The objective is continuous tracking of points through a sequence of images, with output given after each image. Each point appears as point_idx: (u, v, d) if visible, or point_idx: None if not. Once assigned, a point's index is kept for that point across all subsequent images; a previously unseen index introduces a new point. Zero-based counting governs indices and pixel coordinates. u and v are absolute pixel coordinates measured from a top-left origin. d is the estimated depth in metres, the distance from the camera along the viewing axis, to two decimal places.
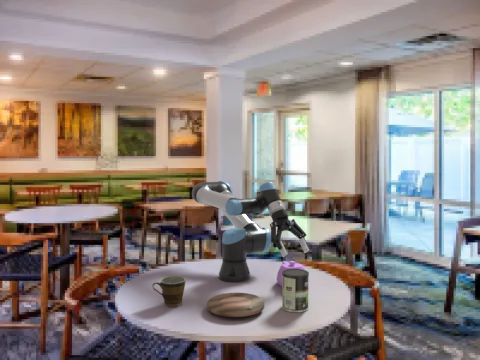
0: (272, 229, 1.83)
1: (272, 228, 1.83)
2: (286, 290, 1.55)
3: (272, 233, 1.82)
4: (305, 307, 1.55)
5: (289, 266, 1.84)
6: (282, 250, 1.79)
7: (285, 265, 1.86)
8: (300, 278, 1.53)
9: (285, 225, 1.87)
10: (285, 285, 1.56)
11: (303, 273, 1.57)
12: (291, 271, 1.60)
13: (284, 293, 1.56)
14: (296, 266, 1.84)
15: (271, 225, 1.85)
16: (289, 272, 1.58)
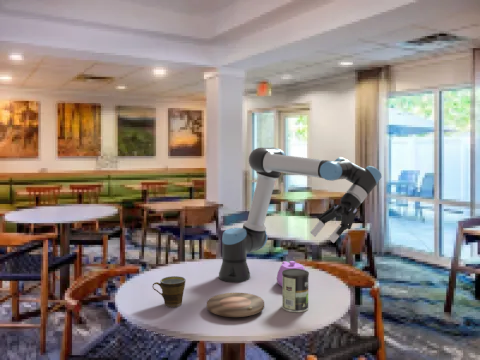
0: (352, 215, 1.58)
1: (353, 214, 1.58)
2: (286, 290, 1.55)
3: (351, 219, 1.57)
4: (305, 307, 1.55)
5: (289, 266, 1.84)
6: (336, 236, 1.56)
7: (285, 265, 1.86)
8: (300, 278, 1.53)
9: None
10: (285, 285, 1.56)
11: (303, 273, 1.57)
12: (291, 271, 1.60)
13: (284, 293, 1.56)
14: (296, 266, 1.84)
15: (354, 210, 1.59)
16: (289, 272, 1.58)
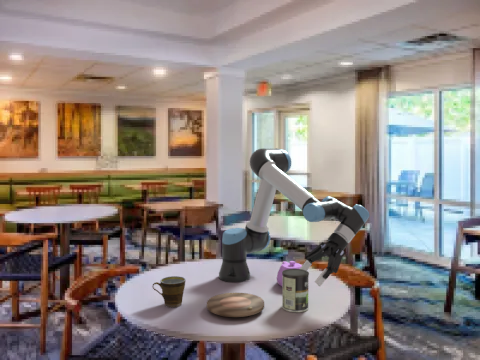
0: (339, 258, 1.55)
1: (340, 257, 1.55)
2: (286, 290, 1.55)
3: (338, 262, 1.53)
4: (305, 307, 1.55)
5: (289, 266, 1.84)
6: (322, 279, 1.53)
7: (285, 265, 1.86)
8: (300, 278, 1.53)
9: None
10: (285, 285, 1.56)
11: (303, 273, 1.57)
12: (291, 271, 1.60)
13: (284, 293, 1.56)
14: (296, 266, 1.84)
15: (341, 252, 1.56)
16: (289, 272, 1.58)
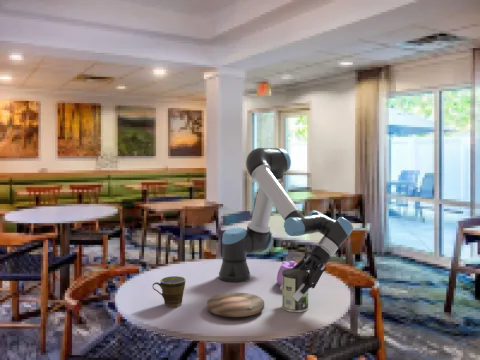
0: (319, 273, 1.54)
1: (320, 272, 1.54)
2: (286, 290, 1.55)
3: (317, 278, 1.53)
4: (305, 307, 1.55)
5: (289, 266, 1.84)
6: (300, 294, 1.53)
7: (285, 265, 1.86)
8: (300, 278, 1.53)
9: None
10: (285, 285, 1.56)
11: (303, 273, 1.57)
12: (291, 271, 1.60)
13: (284, 293, 1.56)
14: None
15: (322, 268, 1.54)
16: (289, 272, 1.58)
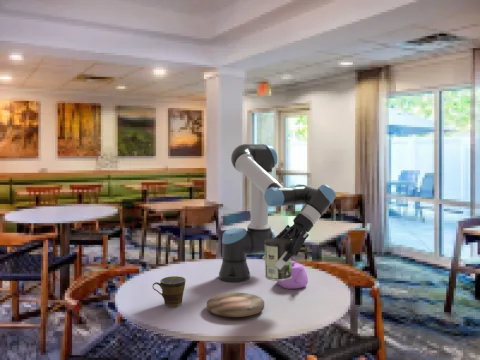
0: (302, 240, 1.51)
1: (302, 239, 1.51)
2: (268, 259, 1.52)
3: (299, 245, 1.50)
4: (288, 275, 1.52)
5: None
6: (282, 262, 1.50)
7: None
8: (282, 246, 1.50)
9: None
10: (267, 254, 1.52)
11: (285, 241, 1.54)
12: (273, 240, 1.56)
13: (267, 262, 1.53)
14: (296, 266, 1.84)
15: (304, 235, 1.51)
16: (271, 241, 1.55)
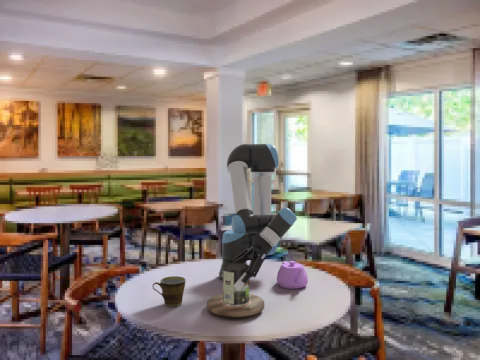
0: (260, 262, 1.51)
1: (260, 261, 1.51)
2: (225, 284, 1.53)
3: (257, 266, 1.50)
4: (244, 301, 1.53)
5: (289, 266, 1.84)
6: (241, 284, 1.49)
7: (285, 265, 1.86)
8: (238, 272, 1.51)
9: None
10: (224, 279, 1.53)
11: (243, 267, 1.54)
12: (232, 265, 1.57)
13: (224, 287, 1.54)
14: (296, 266, 1.84)
15: (262, 256, 1.52)
16: (229, 266, 1.56)
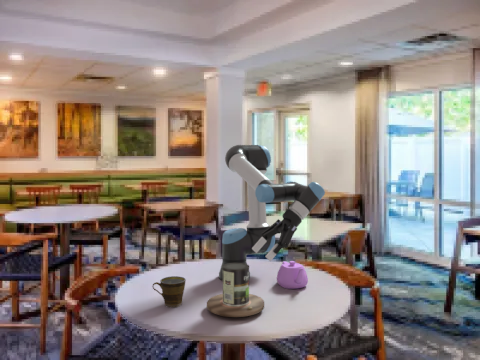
0: (291, 233, 1.55)
1: (291, 232, 1.55)
2: (225, 284, 1.53)
3: (289, 237, 1.53)
4: (244, 301, 1.53)
5: (289, 266, 1.84)
6: (273, 254, 1.53)
7: (285, 265, 1.86)
8: (238, 272, 1.51)
9: None
10: (224, 279, 1.53)
11: (243, 267, 1.54)
12: (232, 265, 1.57)
13: (224, 287, 1.54)
14: (296, 266, 1.84)
15: (293, 228, 1.56)
16: (229, 266, 1.56)
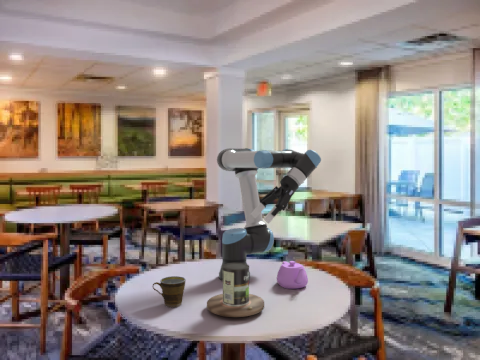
0: (288, 197, 1.61)
1: (289, 196, 1.61)
2: (225, 284, 1.53)
3: (286, 200, 1.59)
4: (244, 301, 1.53)
5: (289, 266, 1.84)
6: (271, 217, 1.59)
7: (285, 265, 1.86)
8: (238, 272, 1.51)
9: None
10: (224, 279, 1.53)
11: (243, 267, 1.54)
12: (232, 265, 1.57)
13: (224, 287, 1.54)
14: (296, 266, 1.84)
15: (290, 192, 1.62)
16: (229, 266, 1.56)
